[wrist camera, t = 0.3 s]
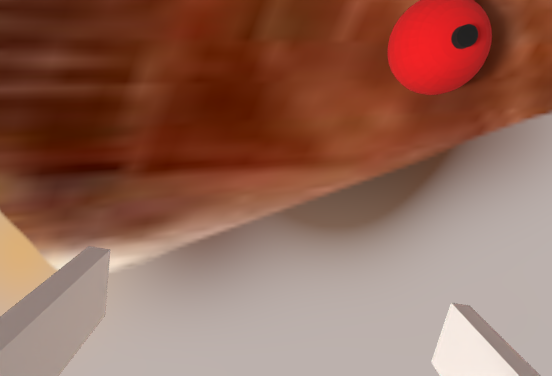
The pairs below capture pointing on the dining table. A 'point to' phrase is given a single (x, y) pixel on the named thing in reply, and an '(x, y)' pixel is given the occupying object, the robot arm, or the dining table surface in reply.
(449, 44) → the ornament
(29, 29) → the dining table surface
